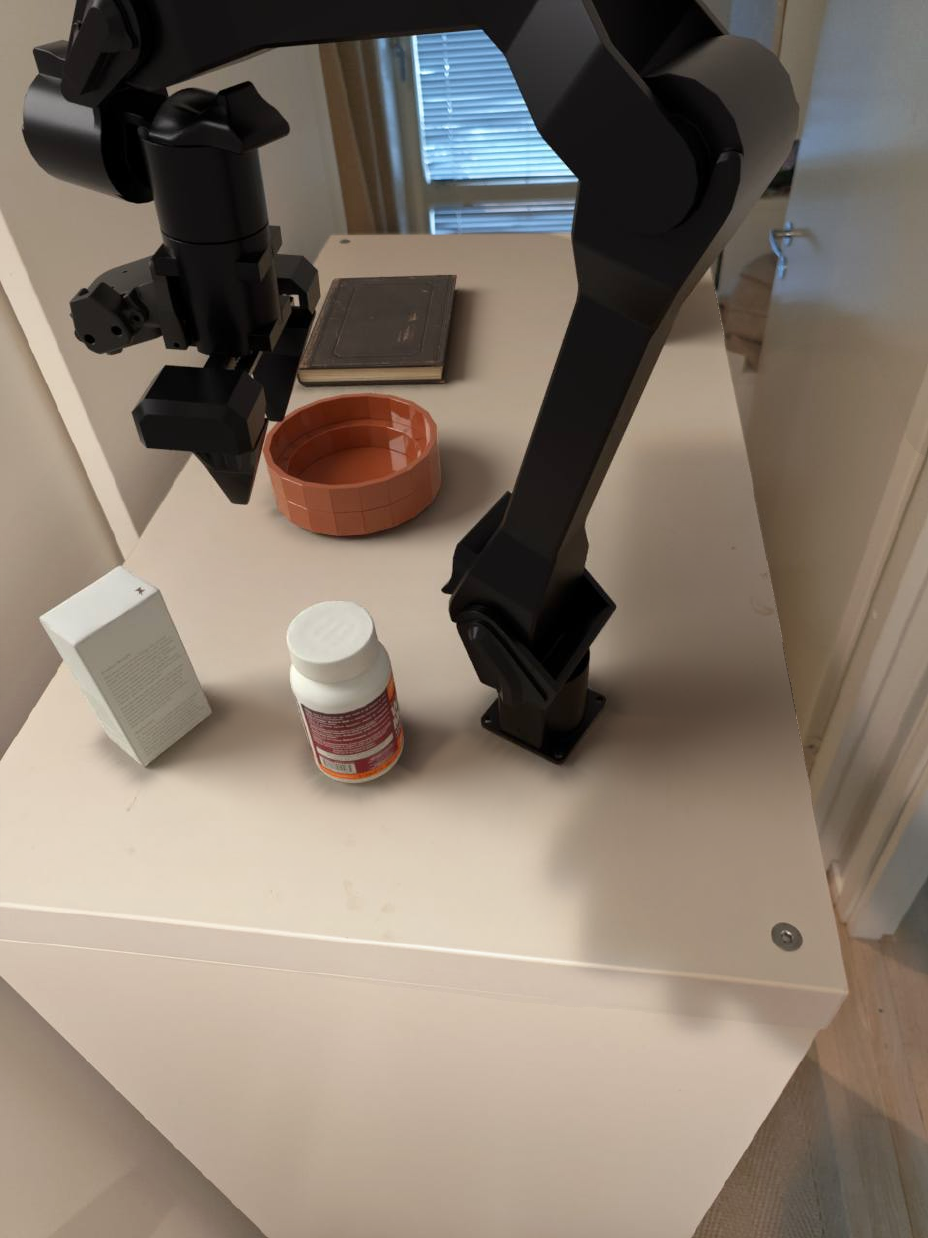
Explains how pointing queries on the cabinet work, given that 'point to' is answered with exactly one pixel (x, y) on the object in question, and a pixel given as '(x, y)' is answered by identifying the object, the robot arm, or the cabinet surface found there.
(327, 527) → the bowl
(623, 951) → the cabinet surface
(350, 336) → the hardcover book
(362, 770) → the pill bottle
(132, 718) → the cosmetic box
